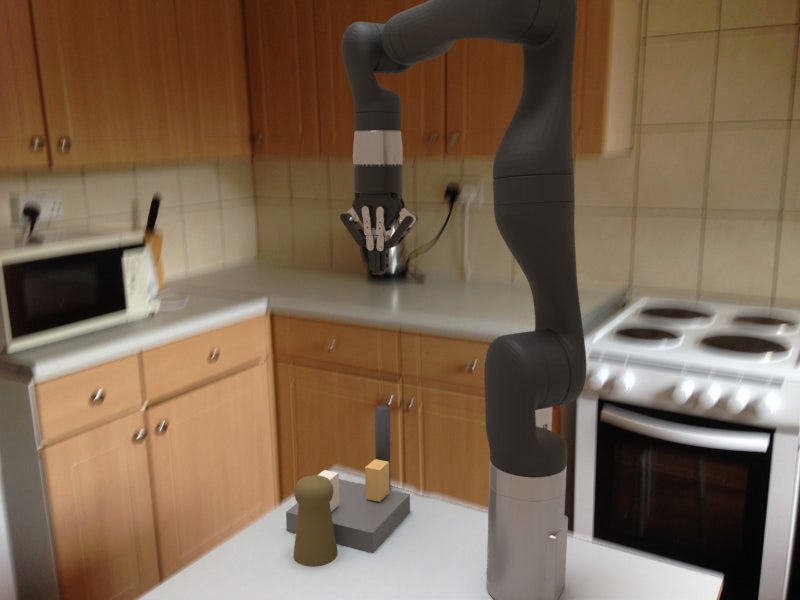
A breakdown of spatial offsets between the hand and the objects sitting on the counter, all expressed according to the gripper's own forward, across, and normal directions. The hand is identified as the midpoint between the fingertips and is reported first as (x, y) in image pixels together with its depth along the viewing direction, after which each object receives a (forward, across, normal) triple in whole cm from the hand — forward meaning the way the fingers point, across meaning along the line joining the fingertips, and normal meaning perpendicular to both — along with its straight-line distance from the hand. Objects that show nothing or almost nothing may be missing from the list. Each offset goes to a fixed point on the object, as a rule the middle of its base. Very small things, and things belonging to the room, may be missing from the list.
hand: (378, 273), depth 115 cm
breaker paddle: (+32, -5, +11) cm, 34 cm away
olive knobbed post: (+35, -2, +24) cm, 43 cm away
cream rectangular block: (+32, 0, +18) cm, 36 cm away
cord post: (+35, -2, +3) cm, 35 cm away
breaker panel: (+35, -2, +14) cm, 38 cm away
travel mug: (+35, -24, -4) cm, 43 cm away
